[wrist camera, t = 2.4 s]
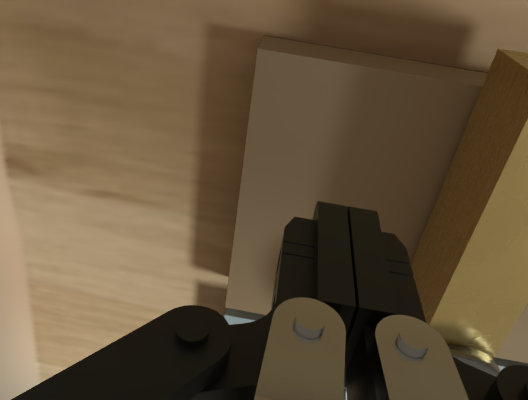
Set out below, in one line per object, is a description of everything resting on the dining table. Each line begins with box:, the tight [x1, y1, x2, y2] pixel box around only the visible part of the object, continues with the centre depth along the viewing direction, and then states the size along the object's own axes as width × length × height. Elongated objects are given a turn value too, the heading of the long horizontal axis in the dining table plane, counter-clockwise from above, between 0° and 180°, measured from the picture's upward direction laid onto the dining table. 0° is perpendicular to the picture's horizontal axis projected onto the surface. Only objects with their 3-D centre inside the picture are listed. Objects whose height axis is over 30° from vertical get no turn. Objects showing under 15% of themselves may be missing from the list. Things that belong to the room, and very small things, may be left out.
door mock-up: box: [224, 36, 528, 400], centre depth 25 cm, size 20×31×6 cm, turn 172°
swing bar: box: [410, 49, 528, 377], centre depth 18 cm, size 16×5×5 cm, turn 172°
